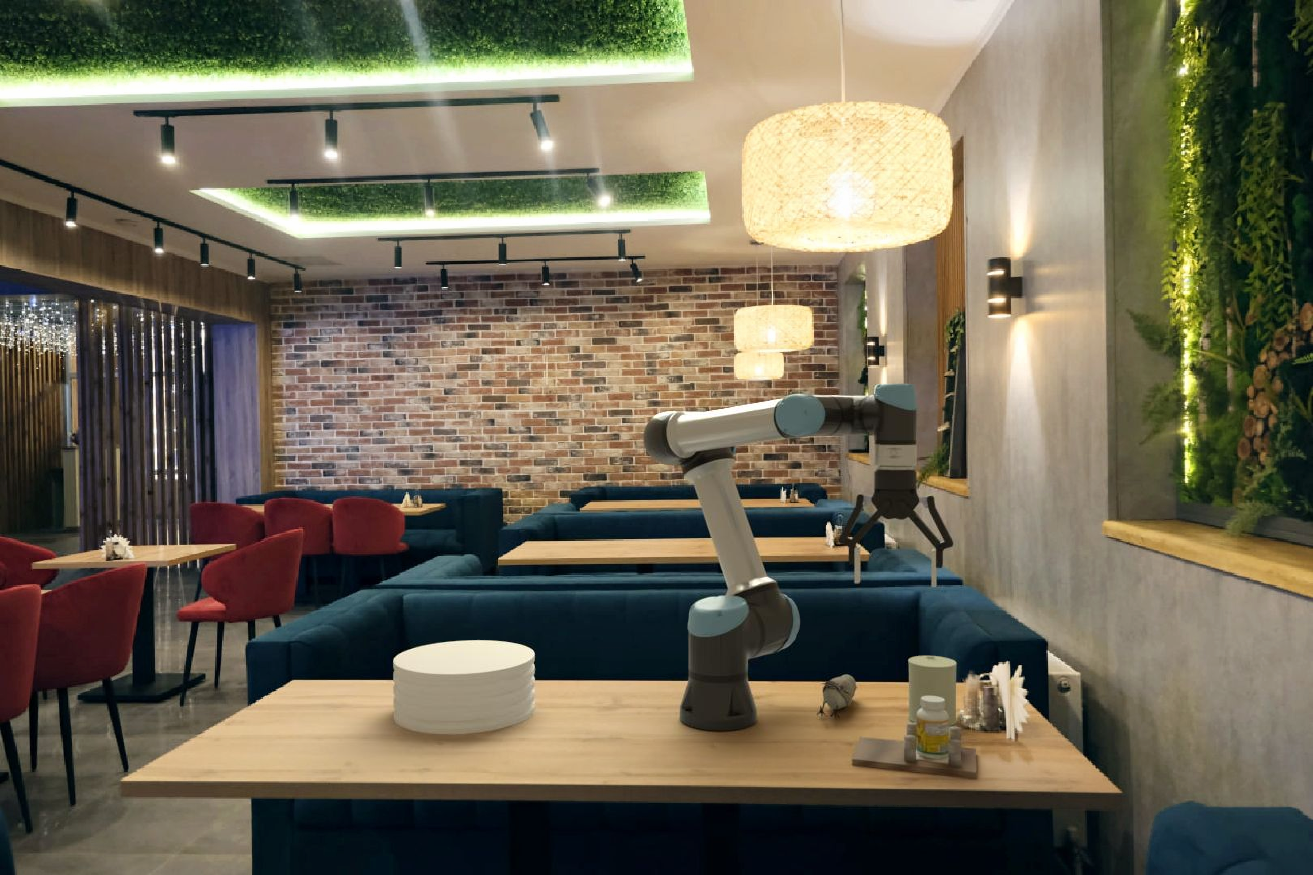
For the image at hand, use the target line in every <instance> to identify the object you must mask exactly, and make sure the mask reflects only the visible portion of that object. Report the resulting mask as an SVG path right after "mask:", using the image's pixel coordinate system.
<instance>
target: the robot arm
mask: <svg viewBox="0 0 1313 875" xmlns="http://www.w3.org/2000/svg"><path fill="white" fill-rule="evenodd" d="M917 403H918V402H917V389H916V387H915V386H914V385H913V384H911V383H882V384H881V383H879V384H876V385H875V387H874V389H873V394H871V395H870V394H869V395H836V394H835V395H832V394H828V395H827V394H826V395H825V394H811V393H809V394H808V393H795V394H788V395H787V396H785V397H784V398H780V399H773V400H769V401H762V402H756V403H750V404H745V405H739V406H733V407H728V408H723V409H722V408H721V409H715V410H711V411H710V410H709V411H708V410H699V411H685V410H683V411H681V410H680V411H675V410H673V411H672V410H670V411H664V412H663V411H662V412H660V413H657V414H656V415H654V416H653V417H652V418H650V420H648V421H647V424H646V425H645V427H644V431H643V435H642V436H643V437H642V440H643V445H644V449H645V451H646V453H647V454H648V456H649V457H650V458H652V460H653V461H655V462H657V463H658V464H661V465H665V466H680V469H681V472H682V476H683V478H684V480H686V481H687V482H690V483H692V484H693V486H694V489H695V493H696V495H697V498H698V501H699V505H700V508H701V510H702V514H703V516H704V520H705V522H706V526H707V529H708V531H709V535H710V538H711V541H712V544H713V547H714V550H715V553H716V556H717V558H718V561H719V565H720V569H721V571H722V574H723V577H724V580H725V583H726V586H727V592H726V594H725V595H718V596H708V597H705V598H702V599H699V600H697V601H695V602H694V603H693V604H692V605H691V606H690V608H689V610H688V611H689V613H688V622H687V630H688V631H687V632H688V634H687V640H688V642H687V643H688V644H687V646H688V652H687V654H688V679H687V684H686V686H685V690H684V693H683V697H682V700H681V702H680V705H679V720H680V721H681V722H682V723H683V724H684V725H686V726H688V727H691V728H694V729H699V730H706V731H719V732H720V731H722V732H723V731H734V730H735V731H736V730H741V729H745V728H748V727H749V728H750V727H751V726H753V725H754V724H755V723H756V722H757V720H758V719H757V718H758V716H757V715H758V713H757V712H758V709H757V705H756V702H755V698H754V696H753V694H752V689H751V687H750V683H749V674H748V673H749V672H748V670H749V668H748V667H749V663H748V662H749V660H751V659H754V658H758V657H762V656H766V655H771V654H773V655H774V653H778V652H780V651H781V650H784V649H786V648H788V647H789V646H791V645H792V643H793V642H794V641H795V640H796V638H797V634H798V633H799V630H800V625H801V618H800V613H799V609H798V606H797V604H796V602H794V600H793V599H792V598H790V597H789V596H788V595H786V594H784V593H781V591H780V587H779V585H778V582H777V580H775V579H773V578H771V577H769V576H768V575H767V573H766V570H765V567H764V564H763V561H762V557H761V554H760V552H759V550H758V546H757V543H756V541H755V538H754V534H753V532H752V529H751V525H750V523H749V519H748V517H747V514H746V511H745V508H744V506H743V503H742V499H741V497H740V494H739V491H738V490H739V489H738V488H737V485H736V482H735V479H734V476H733V473H732V469H733V467H734V466H735V463H736V461H735V457H734V455H736V454H735V453H736V451H737V447H739V446H745V445H752V444H759V443H760V444H761V443H766V442H767V443H768V442H774V441H781V440H786V439H787V440H789V439H790V440H791V439H800V438H805V437H806V438H807V437H818V436H819V437H821V436H823V437H824V436H825V437H826V436H831V437H832V436H833V437H843V436H873V438H874V448H873V450H874V454H873V461H874V463H873V464H874V466H876V468H877V469H875V470H874V472H873V477H874V479H873V482H874V483H873V484H874V486H873V487H874V488H873V490H874V491H873V494H872V495H868V494H864V493H862V492H861V493H858V494H857V495H856V500H855V506H854V509H853V511H852V512H851V514H850V515H849V518H848V520H847V523H846V524H845V526H844V528H843V529H842V531H841V533H840V535H839V537H838V542H839V543H840V544H843V545H846V546H847V548H848V563H849V565H854V584H860V583H861V546H859V545H857V544H858V543H859V542H860V540H861V539H862V538H863V537H864V536H865V535H866V534H867V533H868V531H869V530H870V529H871V528H872V527H873V526H874V525H875V524H876V523H877V521H878V520H879V519H880V518H883V519H886V520H893V519H896V520H901V521H902V520H905V519H910V521H911V522H912V523H913V524H914V525H915V527H917V528H918V530H920V532H921V533H922V534H923V535H924V537H925V538H926V539H927V540H928V541H929V543H930V544H931V545H932V546H933V547H934V548H932V549H931V588H937V569H943V567H944V550H945V549H949V548H952V547H953V546H954V540H953V538H952V536H951V534H950V532H949V530H948V528H947V527H946V524H945V523H944V520H943V519H942V517H941V515H940V513H939V511H938V509H937V507H936V500H935V499H936V498H935V496H934V495H933V494H929V495H927V496H926V495H925V496H919V495H918V491H917V489H918V485H917V482H918V481H917V479H918V476H917V471H916V469H914V467H916V466H917V464H918V462H917V460H918V459H917V458H918V457H917V455H918V454H917V451H918V450H917V449H918V447H917V416H918V415H917V414H918V413H917V412H918V408H919V407H918V404H917ZM869 502H871V503H872V504H873V506H874V508H875V509H876V511H875V512H874V513H873V514H872V515H871V517H870V518H868V519H867V521H866V522H865V524H863V525H862V527H861V528H860V529H859V530H858V531H857V532H856V533H855V535H853V537H852V538H850V534H851V532H852V530H853V529H854V526H855V524H856V522H857V520H858V519H859V516H860V515H861V513H862V511H863V509H864V507H867V506H868V504H869ZM919 503H921V504H922V506H923V507H924V508H926V509H928V512H929V514H930V516H931V518H932V520H933V522H934V524H935V526H936V528H937V530H938V531H939V534H940V536H941V538H942V539H943V541H940V539H939V537H937V536H936V535H935V533H934V532H933V531H932V530H931V529H930V528H929V526H928V525H927V524H926V523H925V522H924V520H922V518H921V517H920V515H918V513H917V512H916V511H915V509H916V508H917V506H918V505H919Z"/></svg>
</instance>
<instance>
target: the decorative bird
mask: <svg viewBox="0 0 1313 875" xmlns="http://www.w3.org/2000/svg"><path fill="white" fill-rule="evenodd" d="M821 685H824V686H823V688H822V697H823V698H822V699H823V701H822V706H821V705H819V711H818V712H817V713H816V716H818V715H819V714H820V715H821V717H824V716H825V717H827V714H826V713H825V712H824V709H825V705H826V704H827V706H828V707H829V708H830V709H833V712H832V714H831V715H830V717H829V718H831V717H833V716H834V719H835V720H837V718H838V719H839V720H841V718H840V716H839V713H837V711H838V710H839V709H842V708H844V707H846V706H847V707H849V706H850V705H851V704H852V702H853V698H854V697H855V694H856V693H855V692H856V691H857V688H858V687H857V683H856V680H855V678H854V677H853V676H852V675H849V674H843V675H841V676H837V677H834V678H832V679H830V680H828V681H825V682H824V683H821ZM823 715H824V716H823Z"/></svg>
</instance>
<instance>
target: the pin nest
mask: <svg viewBox="0 0 1313 875" xmlns="http://www.w3.org/2000/svg"><path fill="white" fill-rule="evenodd" d="M851 765H852V766H860V767H868V768H877V769H886V770H887V769H888V770H895V771H896V770H897V771H905V772H912V773H913V772H914V773H922V774H932V775H940V776H942V775H943V776H950V777H959V778H968V779H969V778H970V779H976V780H977V749H976V748H975V747H966V746H965V747H963V746H962V727H960V726H957V725H956V726H955V725H951V726H949V740H948V757H946V758H943V759H929V758H925V757H923V756H921V755H919V754H918V753H917V723H914V722H912V721H910V722H907V723H906V735H904V736H903V740H894V739H885V738H876V737H875V738H874V737H864V736H859V738H858V741H857V744H856V746H855V750H854V752H853V756H852V758H851Z"/></svg>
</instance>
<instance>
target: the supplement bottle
mask: <svg viewBox="0 0 1313 875" xmlns="http://www.w3.org/2000/svg"><path fill="white" fill-rule="evenodd" d="M921 707H922V708H921V709H919V710H918V712H917V753H918V754H919V755H921V756H923V757H925V758H929V759H943V758H946V757H948V740H949V727H950V726H949V715H948V713H947V712H946V711H945V710H943V709H944V708H945V699H944V698H941V697H938V696H922V697H921Z"/></svg>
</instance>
